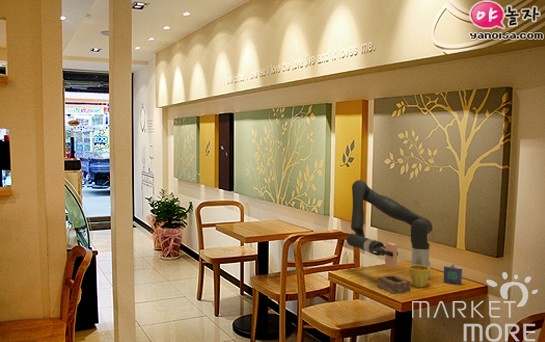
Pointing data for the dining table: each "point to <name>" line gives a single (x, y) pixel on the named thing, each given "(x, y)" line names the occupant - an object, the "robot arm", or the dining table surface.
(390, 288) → the walnut frame
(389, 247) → the tall pink pillar
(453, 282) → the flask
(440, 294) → the dining table surface
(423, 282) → the plant pot
